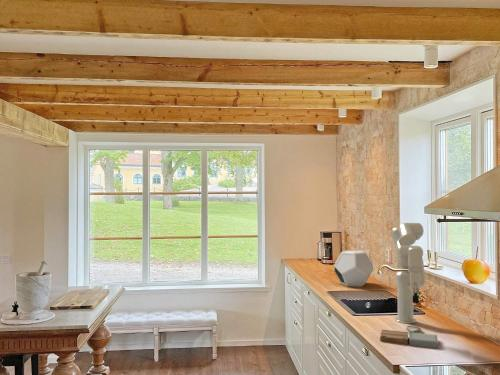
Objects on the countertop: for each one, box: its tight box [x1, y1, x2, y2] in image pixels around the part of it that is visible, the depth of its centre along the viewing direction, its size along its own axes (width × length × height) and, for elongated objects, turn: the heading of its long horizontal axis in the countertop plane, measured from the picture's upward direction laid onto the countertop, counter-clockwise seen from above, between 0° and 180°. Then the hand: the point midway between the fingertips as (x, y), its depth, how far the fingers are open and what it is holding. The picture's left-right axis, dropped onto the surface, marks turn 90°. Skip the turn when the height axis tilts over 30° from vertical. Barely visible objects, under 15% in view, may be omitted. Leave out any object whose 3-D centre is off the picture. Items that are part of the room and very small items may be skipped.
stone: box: [405, 325, 426, 334], centre depth 261 cm, size 12×9×3 cm
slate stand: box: [408, 331, 439, 349], centre depth 244 cm, size 14×14×3 cm
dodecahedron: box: [333, 249, 374, 288], centre depth 403 cm, size 34×36×30 cm
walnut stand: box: [379, 329, 409, 346], centre depth 249 cm, size 14×14×3 cm
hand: (415, 302), depth 253 cm, fingers closed
